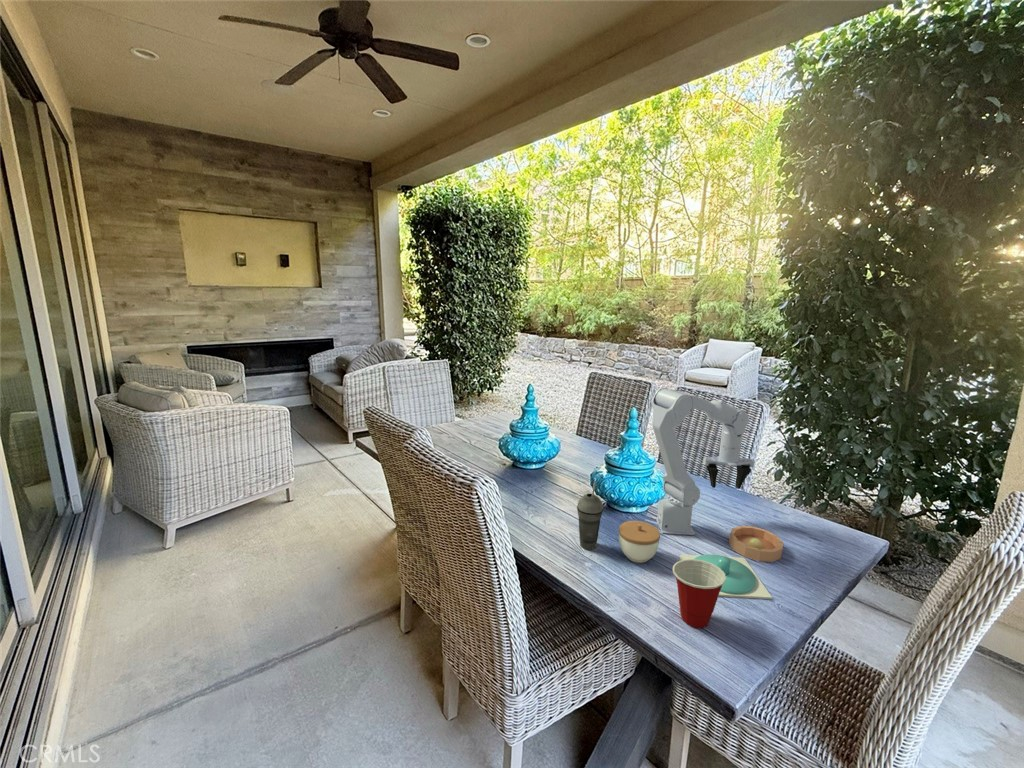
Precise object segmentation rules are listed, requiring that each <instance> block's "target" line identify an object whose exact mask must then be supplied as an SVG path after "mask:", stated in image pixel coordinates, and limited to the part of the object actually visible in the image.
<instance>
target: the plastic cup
mask: <svg viewBox="0 0 1024 768" xmlns="http://www.w3.org/2000/svg"><path fill="white" fill-rule="evenodd" d="M672 574H673V575H674V577H675V580H676V584H677V586H676V587H677V595H678V603H679V610H680V612H679V613H680V617H681V619H682V621H683V622H684V623H685V624H686V625H688V626H690V627H692V628H696V629H704V628H706V627H707V626H708V625H709V623H710V621H711V618H712V615H713V613H714V610H715V608H716V604H717V601H718V598H719V596H718V595H719V592H720V591H721V587H722V585H723V584H724V582H725V581H726V576H725V573H724V572H723V571H722V570H721V569H720V568H719V567H717V566H715V565H714V564H712V563H709V562H706V561H703V560H695V559H687V560H681V559H680V560H679V561H677V562H675V564H673V566H672Z"/></svg>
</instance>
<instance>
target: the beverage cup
mask: <svg viewBox="0 0 1024 768" xmlns="http://www.w3.org/2000/svg"><path fill="white" fill-rule="evenodd" d="M595 489H596V480H594V481H593V484H592V491H591V492H592V493H585V494H583V495H582V496H581V497H580V498H579V499H578V502H577V506H576V510H577V516H578V535H579V546H580V547H581V549H584V550H587V551H594V550H595V549H596V548H597V543H598V539H599V538H598V537H599V531H600V526H601V525H600V524H601V518H602V516H603V512H604V506H603V503H602V500H601V498H600V497H599V496H598V495H596V494H595V491H596V490H595Z"/></svg>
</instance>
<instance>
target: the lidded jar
mask: <svg viewBox="0 0 1024 768" xmlns="http://www.w3.org/2000/svg"><path fill="white" fill-rule="evenodd" d="M660 538H661V531H659V529H658V528H657V527H656V526H654V524H653V525H652V524H651V523H648V522H645V521H641V520H629V521H625V522H622V523H621V524H620V525H619V527H618V541H619V546H620V549H621V551H622V553H623V554H624V555H625V556H626V558H627V559H628V560H629V561H632V562H634V563H639V564H643V563H646V562H648V561H649V560H651V559H652V558H653V557H654V556H655V555H656V554H657V551H658V548H659V544H660Z"/></svg>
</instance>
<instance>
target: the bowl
mask: <svg viewBox="0 0 1024 768" xmlns="http://www.w3.org/2000/svg"><path fill="white" fill-rule="evenodd" d="M728 544H729V545H730V547H731V548H732V550H733V551H734V552H736V553H738V554H739V555H741V556H742V557H743V558H747V559H750V560H755V561H758V562H767V563H768V562H770V563H773V562H775V561H779V560H781V559H782V555H783V548H784V542H783V540H781V539H780V537H779V536H778V535H776V534H775V533H773V532H771V531H769V530H767V529H763V528H760V527H757V526H753V525H752V526H750V525H749V526H748V525H738V526H736V527H733V528H731V531H730V533H729V539H728Z"/></svg>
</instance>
